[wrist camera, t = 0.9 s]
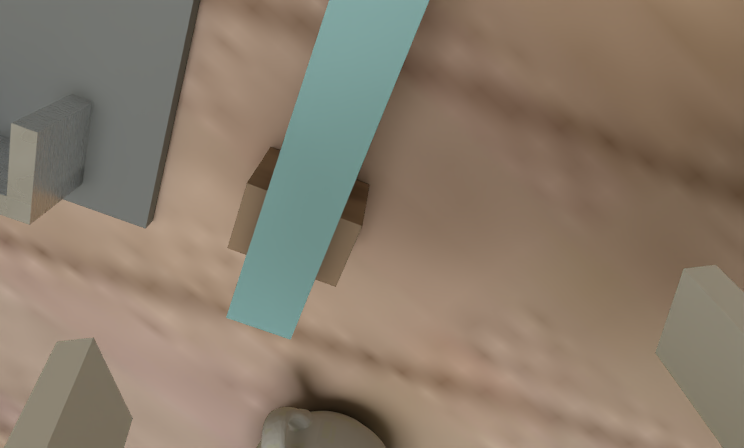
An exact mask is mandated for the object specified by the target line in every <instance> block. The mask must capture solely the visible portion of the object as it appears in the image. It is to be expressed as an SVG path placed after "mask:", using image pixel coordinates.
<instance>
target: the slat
mask: <svg viewBox="0 0 744 448" xmlns="http://www.w3.org/2000/svg"><path fill="white" fill-rule="evenodd" d="M428 2H429V0H329V3H328V6H327V9H326V12H325V15H324V18H323V21H322V24H321V27H320V30H319V33H318V36H317V40H316V43H315V46H314V49H313V52H312V55H311V58H310V61H309V64H308V67H307V70H306V73H305V77H304V80H303V83H302V86H301V89H300V92H299V95H298V98H297V101H296V104H295V107H294V110H293V113H292V117H291V120H290V123H289V126H288V129H287V132H286V135H285V138H284V141H283V144H282V147H281V150H280V154H279V157H278V160H277V163H276V166H275V169H274V172H273V175H272V178H271V181H270V184H269V187H268V190H267V194H266V197H265V200H264V203H263V206H262V209H261V212H260V215H259V218H258V221H257V224H256V227H255V231H254V234H253V237H252V240H251V243H250V246H249V249H248V252H247V255H246V258H245V261H244V264H243V267H242V271H241V274H240V277H239V280H238V283H237V286H236V289H235V292H234V295H233V298H232V301H231V304H230V308H229V311H228V314H227V317H226V318H229V319H232V320H235V321H238V322H241V323H243V324H246V325H249V326H252V327H255V328H258V329H261V330H264V331H267V332H270V333H273V334H276V335H279V336H282V337H284V338H287V339H291V337H292V334H293V332H294V330H295V327H296V325H297V322H298V320H299V317H300V315H301V312H302V310H303V308H304V305H305V303H306V300H307V298H308V295H309V293H310V290H311V288H312V286H313V283H314V281H315V278H316V276H317V273H318V271H319V268H320V266H321V264H322V261H323V259H324V256H325V254H326V251H327V249H328V247H329V244H330V242H331V239H332V237H333V234H334V232H335V229H336V227H337V225H338V222H339V220H340V217H341V215H342V212H343V210H344V207H345V205H346V203H347V200H348V198H349V195H350V193H351V190H352V188H353V185H354V183H355V181H356V178H357V176H358V173H359V171H360V168H361V166H362V163H363V161H364V159H365V156H366V154H367V151H368V149H369V146H370V144H371V142H372V139H373V137H374V134H375V132H376V129H377V127H378V124H379V122H380V120H381V117H382V115H383V112H384V110H385V107H386V105H387V102H388V100H389V98H390V95H391V93H392V90H393V88H394V85H395V83H396V80H397V78H398V76H399V73H400V71H401V68H402V66H403V63H404V61H405V58H406V56H407V54H408V51H409V49H410V46H411V44H412V41H413V39H414V36H415V34H416V32H417V29H418V27H419V24H420V22H421V19H422V17H423V15H424V12H425V10H426V7H427V5H428Z"/></svg>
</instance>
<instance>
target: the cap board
mask: <svg viewBox="0 0 744 448" xmlns="http://www.w3.org/2000/svg"><path fill="white" fill-rule="evenodd" d="M199 3H200V0H0V135H1V136H4V137H6V138H9V139H10V135H11V123H12V122H14V121H16V120H18V119H21V118H23V117H25V116H27V115H29V114H31V113H33V112H35V111H37V110H39V109H41V108H43V107H45V106H47V105H49V104H51V103H53V102H55V101H58V100H60V99H62V98H64V97H66V96H68V95H70V94H74V95H76V96H79V97H82V98H84V99H87V100H90V101H92V102H94V104H93V111H92V119H91V126H90V133H89V141H88V148H87V155H86V163H85V170H84V177H83V184H82V185H80V186H79V187H78V188H76V189H75V190H74V191H73V192H71V193H70V194H69V195H67V196H66V197H65V198H64V200H67V201H70V202H72V203H75V204H78V205H81V206H84V207H86V208H89V209H92V210H95V211H98V212H101V213H103V214H106V215H109V216H112V217H115V218H117V219H120V220H123V221H126V222H129V223H132V224H134V225H137V226H140V227H143V228H147V226H148V225H149V224H150V223H151V222H152V221H153V217H154V212H155V207H156V203H157V198H158V193H159V189H160V184H161V179H162V175H163V170H164V165H165V161H166V156H167V151H168V147H169V142H170V137H171V133H172V128H173V124H174V119H175V114H176V110H177V105H178V100H179V96H180V91H181V86H182V82H183V77H184V72H185V68H186V63H187V58H188V54H189V49H190V45H191V40H192V35H193V31H194V26H195V21H196V17H197V12H198V7H199Z"/></svg>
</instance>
